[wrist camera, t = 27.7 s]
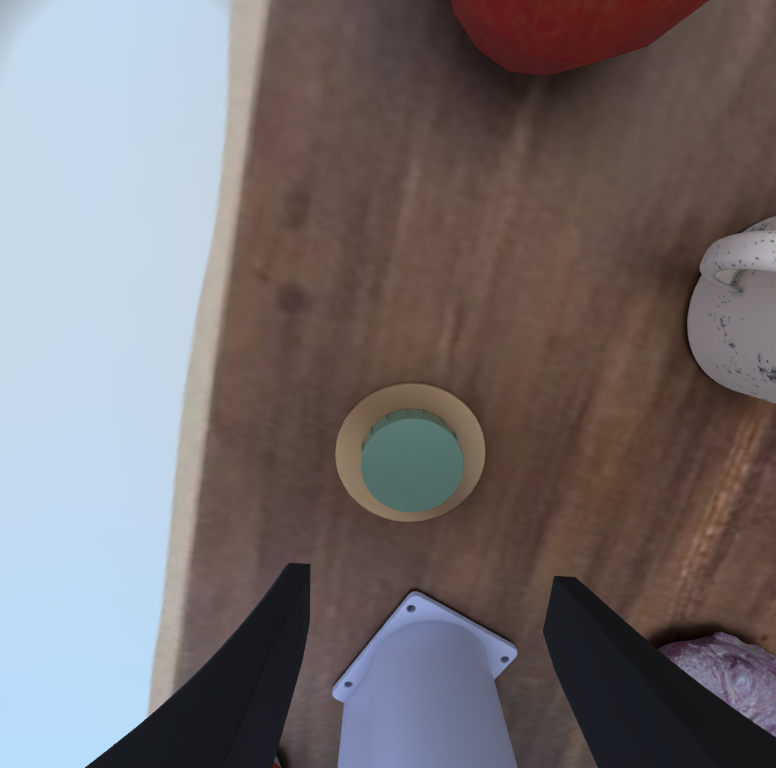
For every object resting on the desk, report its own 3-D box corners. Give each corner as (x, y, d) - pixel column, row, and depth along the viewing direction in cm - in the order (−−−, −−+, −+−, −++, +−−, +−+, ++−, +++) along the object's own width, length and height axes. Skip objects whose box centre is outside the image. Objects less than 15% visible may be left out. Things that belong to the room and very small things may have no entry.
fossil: (733, 771, 27) (810, 883, 22) (598, 669, 25) (650, 768, 20) (835, 707, 25) (944, 812, 20) (701, 591, 23) (787, 677, 18)
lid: (464, 410, 20) (470, 420, 18) (453, 499, 21) (458, 515, 20) (364, 405, 20) (362, 414, 18) (359, 495, 21) (357, 510, 20)
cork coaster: (428, 541, 22) (428, 545, 22) (308, 472, 21) (307, 475, 21) (513, 433, 21) (516, 436, 20) (389, 352, 19) (389, 353, 19)
